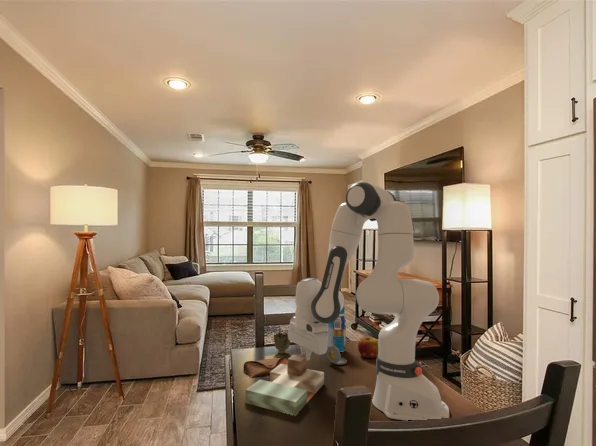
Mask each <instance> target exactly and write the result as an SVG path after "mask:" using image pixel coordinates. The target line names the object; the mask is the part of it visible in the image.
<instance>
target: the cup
mask: <svg viewBox="0 0 596 446" xmlns="http://www.w3.org/2000/svg"><path fill="white" fill-rule="evenodd" d="M273 340H274V341H273V343H274V347H275V349H276V350H277V353H278V354H279V355H284V354H285V355H286V353H287V350H288V349H289V347H290V344H291V343H290V342H291V341H290V340H289V339H288V332H285V333H284V334H283V332H278V333H275V334H274V335H273Z"/></svg>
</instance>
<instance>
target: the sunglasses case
mask: <svg viewBox="0 0 596 446" xmlns="http://www.w3.org/2000/svg"><path fill="white" fill-rule="evenodd" d="M280 364H285V365H288V358H287V357H286V356H282V357H276V358H268V359H260V360H259V359H258V360H247V361H245V362H244V363H243V371H244V373H245V374H246V375H247V376H248V377H249V379H253V378H258V377H263V376H270V371H272V370H273V369H275V368H276V367H277V366H279V365H280Z"/></svg>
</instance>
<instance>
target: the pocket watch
mask: <svg viewBox="0 0 596 446" xmlns="http://www.w3.org/2000/svg"><path fill="white" fill-rule="evenodd" d="M333 341H334V340H333ZM331 342H332V340H331ZM335 342H336V341H335ZM335 342H332V343H333V346H330V347H329V348H328V349H327V352H326V357H327V358H328V361H329V362H330V363H332V364H333V365H338V366H339V365H340V366H342V365H346V364H347V363H348V362H347V361H348V360H347V359H346V358H345V357H342V356H341V353H340V351H339V349H338V348H337V347H336V346H335V344H336V343H335Z"/></svg>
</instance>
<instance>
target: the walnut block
mask: <svg viewBox="0 0 596 446" xmlns="http://www.w3.org/2000/svg"><path fill="white" fill-rule="evenodd" d="M287 361H288V367H287V374H292V375H297V376H301V375H303V374H304V373H305V372H306V369H307V357H305V356H302V355H297V354H292V355H291V356H290V357H288V358H287Z"/></svg>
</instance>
